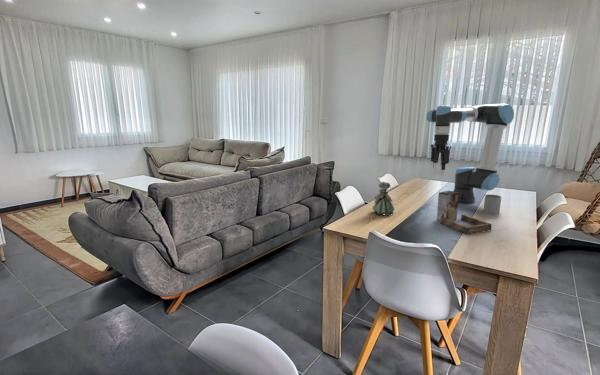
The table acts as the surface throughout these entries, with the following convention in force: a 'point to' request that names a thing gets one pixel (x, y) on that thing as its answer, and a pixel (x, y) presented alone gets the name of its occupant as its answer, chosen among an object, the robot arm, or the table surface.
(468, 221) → the cradle
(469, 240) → the table surface
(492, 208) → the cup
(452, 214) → the coffee box
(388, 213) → the figurine
